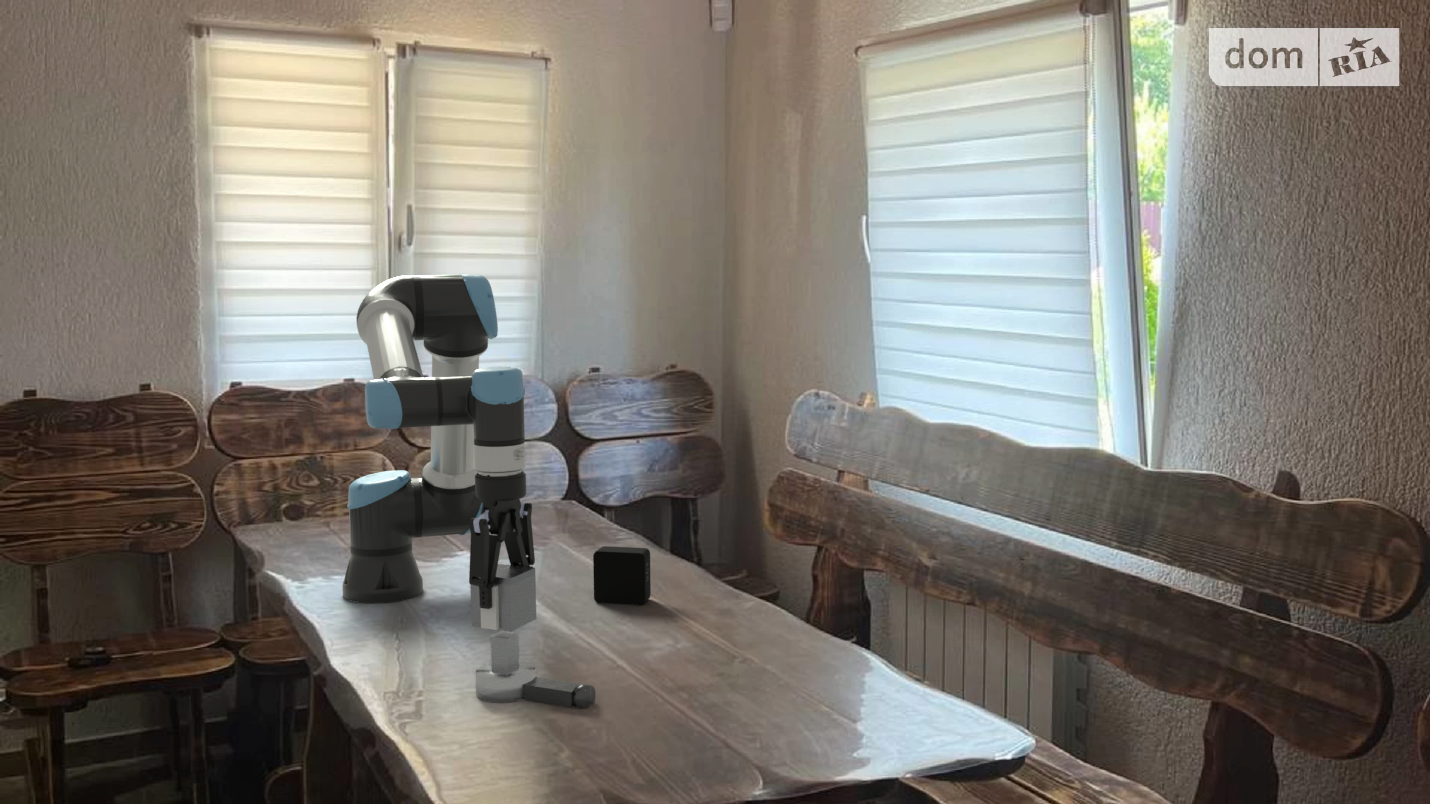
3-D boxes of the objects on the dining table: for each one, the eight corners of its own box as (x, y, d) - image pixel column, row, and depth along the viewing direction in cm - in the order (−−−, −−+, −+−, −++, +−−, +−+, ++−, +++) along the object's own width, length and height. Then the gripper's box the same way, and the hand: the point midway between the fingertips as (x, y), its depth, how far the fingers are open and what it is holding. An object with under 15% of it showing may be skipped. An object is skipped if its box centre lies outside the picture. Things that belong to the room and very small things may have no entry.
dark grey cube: (511, 631, 193) (510, 578, 192) (471, 626, 195) (470, 574, 194) (536, 619, 199) (535, 567, 198) (497, 614, 202) (496, 563, 201)
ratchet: (464, 701, 197) (462, 639, 195) (497, 682, 205) (495, 623, 203) (574, 719, 189) (573, 655, 188) (604, 699, 197) (603, 637, 196)
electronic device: (645, 605, 244) (644, 553, 243) (593, 602, 246) (593, 551, 245) (650, 599, 248) (650, 548, 247) (600, 596, 250) (599, 545, 249)
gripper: (483, 484, 184) (488, 643, 187) (556, 462, 202) (559, 606, 205) (439, 481, 187) (444, 636, 190) (514, 459, 205) (518, 601, 208)
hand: (504, 621), depth 197 cm, fingers closed on dark grey cube, 7 cm apart
